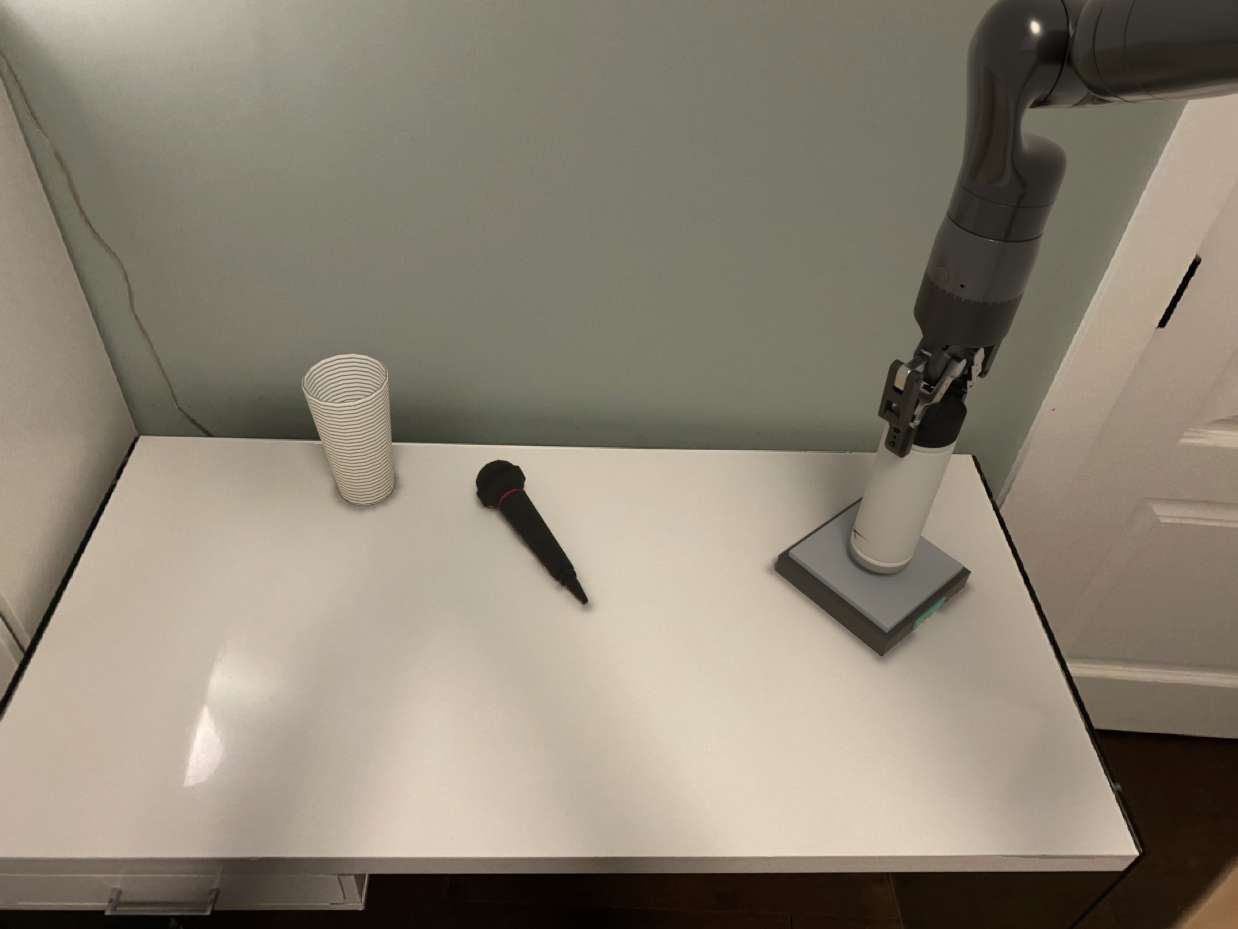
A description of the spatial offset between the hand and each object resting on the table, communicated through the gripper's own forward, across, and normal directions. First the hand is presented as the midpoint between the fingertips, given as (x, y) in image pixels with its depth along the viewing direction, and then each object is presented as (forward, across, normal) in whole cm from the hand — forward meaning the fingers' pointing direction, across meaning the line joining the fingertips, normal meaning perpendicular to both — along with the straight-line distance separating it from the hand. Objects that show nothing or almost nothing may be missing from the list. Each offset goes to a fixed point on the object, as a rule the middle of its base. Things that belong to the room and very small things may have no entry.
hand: (920, 434), depth 82 cm
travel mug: (+16, 0, 0) cm, 16 cm away
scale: (+20, 0, 0) cm, 20 cm away
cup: (+20, -34, +44) cm, 59 cm away
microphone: (+20, -25, +26) cm, 41 cm away
